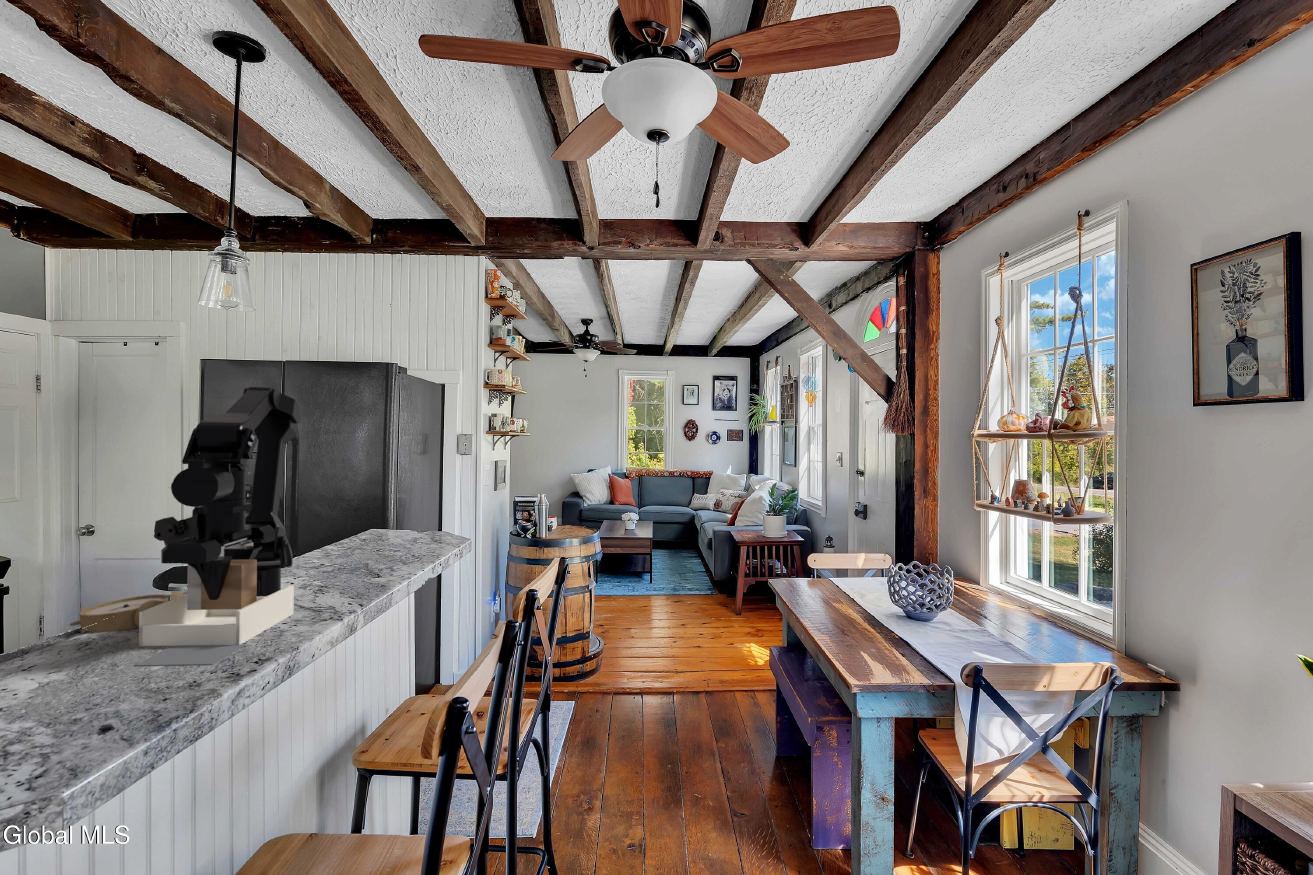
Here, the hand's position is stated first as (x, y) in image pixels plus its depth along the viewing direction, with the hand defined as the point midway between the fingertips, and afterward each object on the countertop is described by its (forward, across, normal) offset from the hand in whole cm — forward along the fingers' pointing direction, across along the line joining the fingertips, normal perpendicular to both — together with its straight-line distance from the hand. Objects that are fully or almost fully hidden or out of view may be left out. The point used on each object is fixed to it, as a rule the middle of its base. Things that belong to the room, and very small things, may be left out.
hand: (223, 595), depth 94 cm
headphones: (+6, -5, -16) cm, 18 cm away
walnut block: (+2, 0, 0) cm, 2 cm away
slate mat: (+6, +12, +3) cm, 13 cm away
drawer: (+6, 0, 0) cm, 6 cm away
